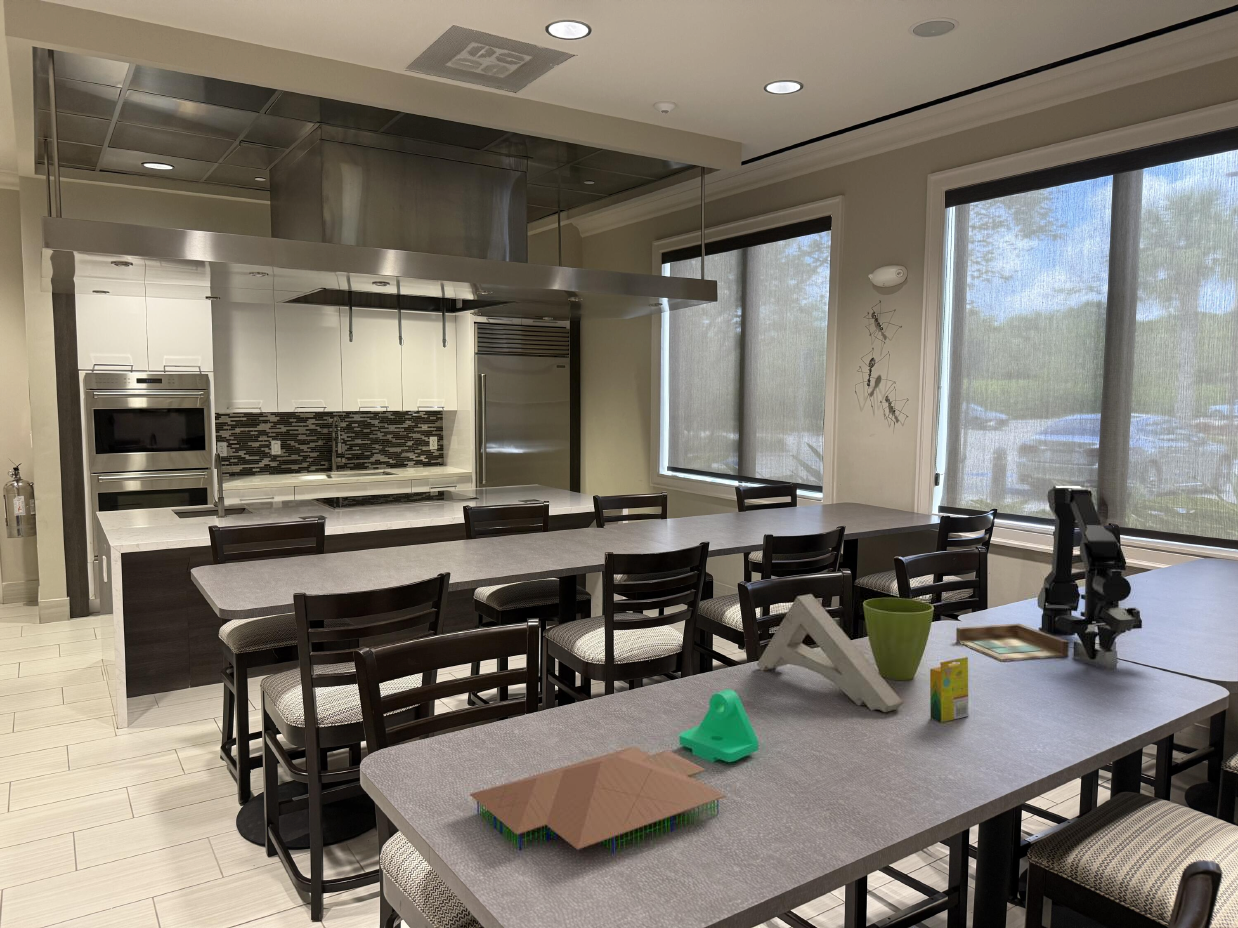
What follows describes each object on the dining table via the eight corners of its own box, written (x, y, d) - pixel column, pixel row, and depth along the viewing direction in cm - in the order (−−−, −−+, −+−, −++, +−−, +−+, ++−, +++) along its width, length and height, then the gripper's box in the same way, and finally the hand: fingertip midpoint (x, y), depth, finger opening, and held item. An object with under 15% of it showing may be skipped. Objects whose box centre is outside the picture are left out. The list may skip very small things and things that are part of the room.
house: (740, 811, 125) (740, 758, 124) (547, 884, 106) (546, 821, 105) (647, 761, 143) (647, 714, 143) (470, 815, 125) (468, 761, 124)
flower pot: (947, 677, 186) (948, 606, 185) (904, 690, 177) (905, 615, 176) (891, 661, 198) (891, 594, 197) (848, 673, 190) (849, 603, 189)
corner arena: (1018, 637, 218) (1018, 623, 218) (1068, 656, 201) (1068, 641, 200) (956, 641, 215) (956, 627, 215) (1001, 661, 197) (1001, 646, 197)
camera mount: (676, 749, 148) (676, 691, 147) (705, 737, 153) (704, 682, 153) (730, 769, 139) (730, 708, 139) (758, 756, 145) (758, 697, 144)
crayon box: (957, 711, 164) (957, 653, 164) (969, 716, 162) (970, 657, 161) (929, 718, 161) (929, 658, 160) (941, 723, 158) (941, 662, 158)
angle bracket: (1073, 657, 200) (1073, 640, 200) (1106, 654, 202) (1106, 638, 201) (1105, 669, 190) (1105, 652, 190) (1139, 666, 192) (1139, 649, 192)
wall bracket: (837, 774, 174) (756, 664, 194) (852, 769, 177) (770, 660, 196) (888, 706, 162) (796, 596, 182) (903, 702, 165) (811, 593, 184)
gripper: (1090, 601, 184) (1088, 671, 184) (1162, 597, 187) (1161, 665, 188) (1054, 591, 195) (1053, 657, 195) (1123, 587, 198) (1122, 652, 199)
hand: (1097, 658), depth 194 cm, fingers closed on angle bracket, 3 cm apart
